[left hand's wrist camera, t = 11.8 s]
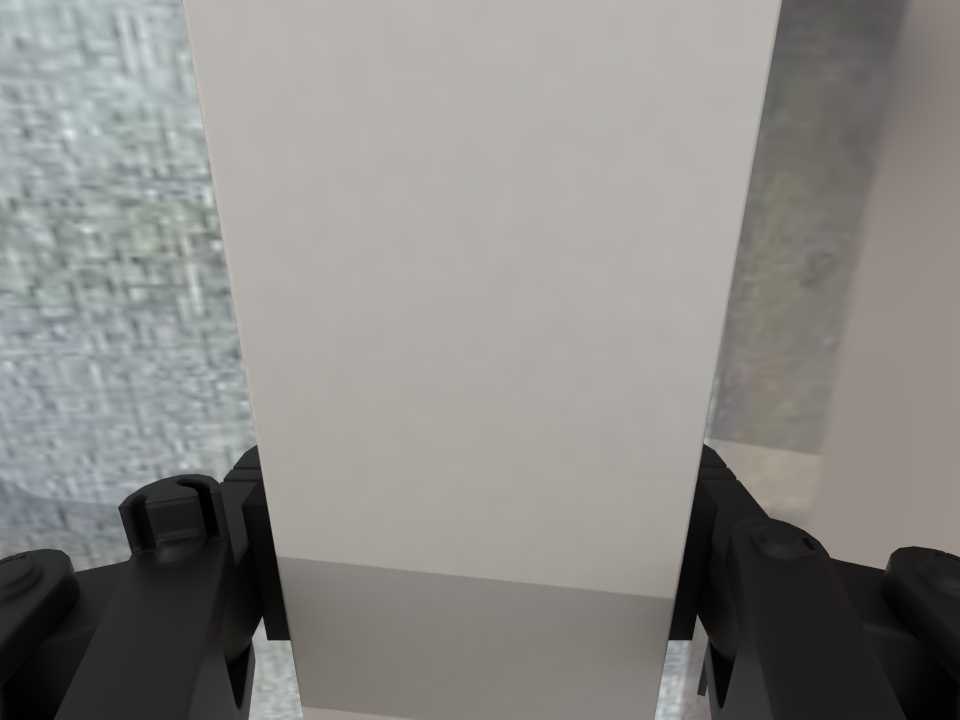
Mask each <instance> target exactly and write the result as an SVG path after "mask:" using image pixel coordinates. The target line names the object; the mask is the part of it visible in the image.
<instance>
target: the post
mask: <svg viewBox="0 0 960 720" xmlns="http://www.w3.org/2000/svg"><path fill="white" fill-rule="evenodd" d="M182 4H183V10H184V16H185V22H186V27H187V33H188V39H189V45H190V51H191V57H192V63H193V69H194V75H195V80H196V86H197V92H198V98H199V104H200V110H201V116H202V122H203V128H204V134H205V139H206V145H207V151H208V157H209V163H210V169H211V175H212V181H213V187H214V192H215V198H216V204H217V210H218V216H219V222H220V228H221V234H222V240H223V245H224V251H225V257H226V263H227V269H228V275H229V281H230V287H231V293H232V298H233V304H234V310H235V316H236V322H237V328H238V334H239V340H240V346H241V352H242V357H243V363H244V369H245V375H246V381H247V387H248V393H249V399H250V405H251V410H252V416H253V422H254V428H255V434H256V440H257V446H258V452H259V458H260V463H261V469H262V475H263V481H264V487H265V493H266V499H267V505H268V511H269V516H270V522H271V528H272V534H273V540H274V546H275V552H276V558H277V564H278V570H279V575H280V581H281V587H282V593H283V599H284V605H285V611H286V617H287V623H288V628H289V634H290V640H291V646H292V652H293V658H294V664H295V670H296V676H297V681H298V687H299V693H300V699H301V705H302V711H303V717H304V720H654V718H655V712H656V707H657V701H658V696H659V690H660V684H661V679H662V673H663V667H664V662H665V656H666V651H667V645H668V639H669V634H670V628H671V622H672V617H673V611H674V606H675V600H676V594H677V589H678V583H679V577H680V572H681V566H682V561H683V555H684V549H685V544H686V538H687V532H688V527H689V521H690V516H691V510H692V504H693V499H694V493H695V487H696V482H697V476H698V471H699V465H700V459H701V454H702V448H703V442H704V437H705V431H706V426H707V420H708V414H709V409H710V403H711V397H712V392H713V386H714V381H715V375H716V369H717V364H718V358H719V352H720V347H721V341H722V336H723V330H724V324H725V319H726V313H727V307H728V302H729V296H730V291H731V285H732V279H733V274H734V268H735V262H736V257H737V251H738V246H739V240H740V234H741V229H742V223H743V218H744V212H745V206H746V201H747V195H748V189H749V184H750V178H751V173H752V167H753V161H754V156H755V150H756V144H757V139H758V133H759V128H760V122H761V116H762V111H763V105H764V99H765V94H766V88H767V83H768V77H769V71H770V66H771V60H772V54H773V49H774V43H775V38H776V32H777V26H778V21H779V15H780V9H781V4H782V0H182Z"/></svg>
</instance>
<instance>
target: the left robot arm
mask: <svg viewBox="0 0 960 720" xmlns="http://www.w3.org/2000/svg"><path fill="white" fill-rule="evenodd" d="M118 508H119V512H120V515H121V518H122V522H123V525H124V528H125V532H126V535H127V538H128V542H129V545H130V549H131V552H132V555H131V557H130V559H129V560H128V561H125V562H121V563H117V564H112V565H108V566H103V567H98V568H93V569H89V570H84V571H79V572H75V571H74V568H73V566H72V563H71V560H70V557H69V556H68V555H66V554H65V553H64V552H63V551H61V550H53V549H41V550H34V551H27V552H23V553H19V554H16V555H14V556H13V555H12V556H9V557H7V558H4V559H1V560H0V720H248V719H249V710H250V702H251V694H252V686H253V678H254V670H255V662H256V661H255V653H254V647H253V642H252V637H253V635H254V633H255V631H256V629H257V626H258V624H259V622H260V620H261V618H262V616H263V619H264V624H265V630H266V635H267V640H290V634H289V628H288V623H287V617H286V611H285V605H284V599H283V593H282V587H281V581H280V575H279V570H278V564H277V558H276V552H275V546H274V540H273V534H272V528H271V522H270V516H269V511H268V505H267V499H266V493H265V487H264V481H263V475H262V469H261V463H260V458H259V452H258V446H257V445H256V446H254V447H253V448H251V449H250V450H248V451H247V452H245V453H244V454H243V456H242V457H241V458H240V459H239V461H238V462H237V463H236V464H235V466H234V467H233V470H231V471H230V472H229V473H228V474H227V475H226V477H225V478H224V481H223V482H221V483H220V484H219V483H218V482H217V481H216V480H215V479H213V478H212V477H210V476H205V475H200V474H187V475H178V476H173V477H169V478H165V479H161V480H159V481H156V482H154V483H151V484H149V485H146V486H144V487H142V488H141V489H139V490H137V491H136V492H134V493H133V494H131V495H129V496H128V497H127V498H126V499H125V500H124V501H123V503H122V504H121V505H120V506H119V507H118ZM697 614H698V616H699V618H700V620H701V622H702V625H703V627H704V629H705V631H706V633H707V635H708V637H709V638H708V642H707V647H706V652H705V657H704V661H703V666H702V671H701V676H700V680H699V687H698V695H701V696H705V693H706V688H707V685H708V693H709V701H710V709H711V717H712V720H960V557H958V556H955V555H953V554H950V553H945V552H943V551H939V550H935V549H929V548H923V547H916V546H912V547H904V548H899V549H897V550H896V551H895V552H893V553H892V554H891V556H890V558H889V561H888V564H887V567H886V570H882V569H878V568H873V567H868V566H863V565H859V564H854V563H849V562H844V561H840V560H836V559H833V558H830V556H829V554H828V552H827V551H826V550H825V549H824V547H823V546H822V545H821V543H820V542H819V541H818V540H816V539H815V538H814V537H812V536H811V535H810V534H808V533H807V532H806V531H804V530H802V529H800V528H798V527H796V526H793V525H791V524H789V523H787V522H783V521H780V520H776V519H772V518H769V517H768V515H767V514H766V513H765V512H764V510H763V509H762V508H761V507H760V506H759V504H758V503H757V502H756V501H755V499H754V498H753V497H752V496H751V495H750V493H749V492H748V491H747V490H746V488H745V487H744V486H743V485H742V483H741V482H740V481H739V480H736V476H735V475H734V474H733V472H732V471H731V470H730V469H729V468H727V467H726V464H725V463H724V461H723V460H722V459H721V458H720V456H719V455H718V454H717V453H716V452H715V450H713V449H711V448H710V447H708V446H707V445H705V444H703V448H702V454H701V459H700V465H699V471H698V476H697V482H696V487H695V493H694V499H693V504H692V510H691V516H690V521H689V527H688V532H687V538H686V544H685V549H684V555H683V561H682V566H681V572H680V577H679V583H678V589H677V594H676V600H675V606H674V611H673V617H672V622H671V628H670V634H669V639H668V640H692V638H693V633H694V628H695V622H696V617H697Z"/></svg>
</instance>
